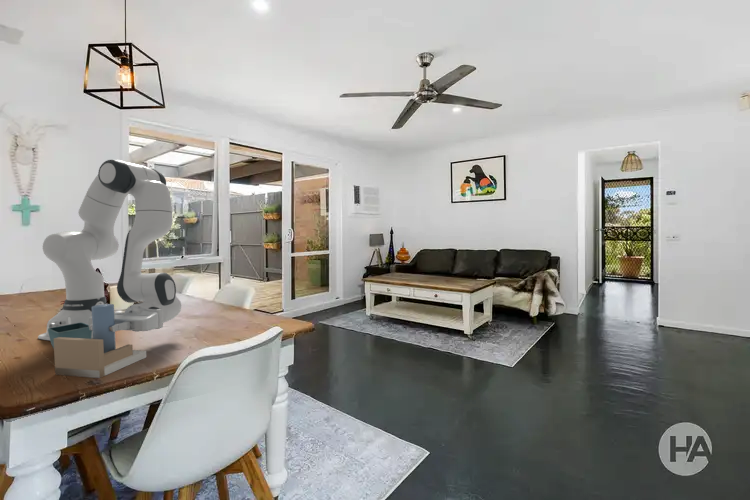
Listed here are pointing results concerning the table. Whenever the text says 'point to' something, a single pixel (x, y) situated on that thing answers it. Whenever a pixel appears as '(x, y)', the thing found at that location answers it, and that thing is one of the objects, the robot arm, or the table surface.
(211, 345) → the table surface
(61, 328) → the flower pot
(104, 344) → the light blue cylinder
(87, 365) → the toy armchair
